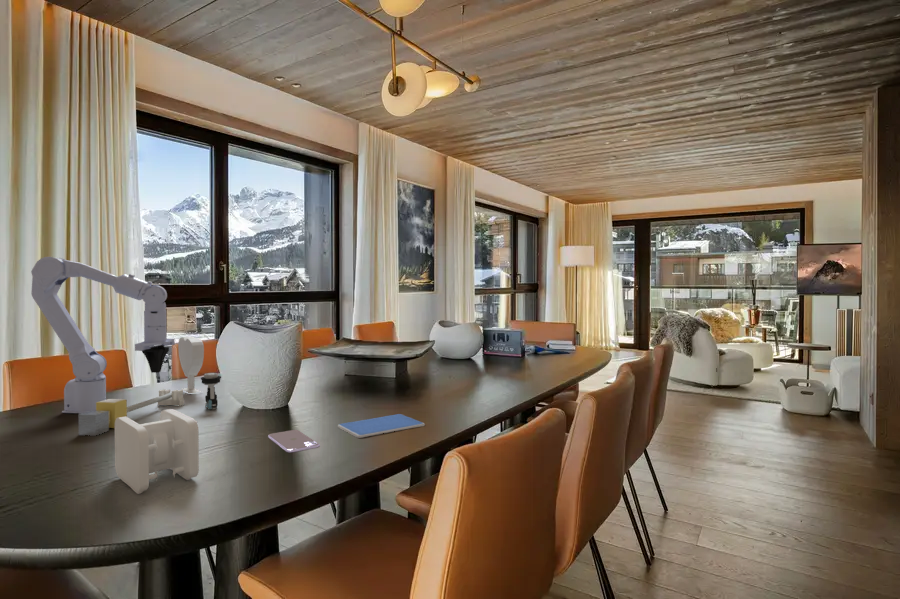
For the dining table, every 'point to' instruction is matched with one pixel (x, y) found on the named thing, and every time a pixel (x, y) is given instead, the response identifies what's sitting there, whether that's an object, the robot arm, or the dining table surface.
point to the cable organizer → (156, 448)
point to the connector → (94, 422)
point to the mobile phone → (293, 441)
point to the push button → (211, 389)
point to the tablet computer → (379, 425)
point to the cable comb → (176, 397)
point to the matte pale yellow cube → (113, 409)
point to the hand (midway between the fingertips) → (155, 372)
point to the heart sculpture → (191, 359)
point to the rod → (149, 402)
